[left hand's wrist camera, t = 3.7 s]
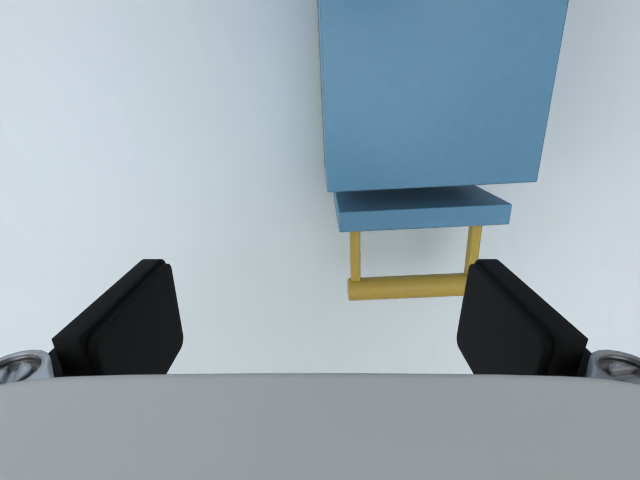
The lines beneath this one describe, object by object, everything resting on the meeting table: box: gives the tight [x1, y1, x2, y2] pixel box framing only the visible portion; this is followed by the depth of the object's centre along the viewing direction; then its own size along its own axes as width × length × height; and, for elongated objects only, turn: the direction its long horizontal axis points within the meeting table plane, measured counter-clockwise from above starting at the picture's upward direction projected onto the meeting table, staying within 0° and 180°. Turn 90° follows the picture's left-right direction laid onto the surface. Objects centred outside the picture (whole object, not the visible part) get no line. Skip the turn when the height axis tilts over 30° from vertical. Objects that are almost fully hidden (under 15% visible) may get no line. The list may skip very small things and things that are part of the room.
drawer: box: [334, 185, 512, 301], centre depth 21 cm, size 24×10×7 cm, turn 3°
